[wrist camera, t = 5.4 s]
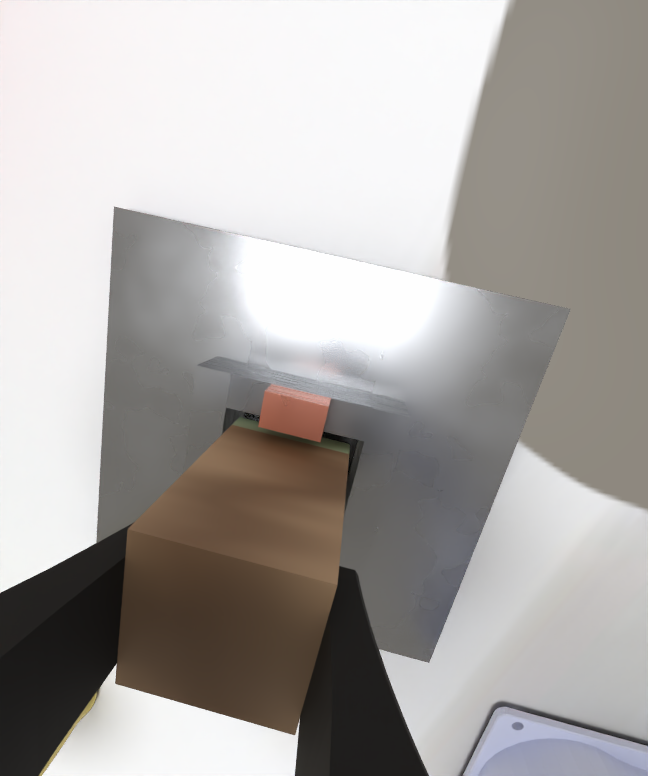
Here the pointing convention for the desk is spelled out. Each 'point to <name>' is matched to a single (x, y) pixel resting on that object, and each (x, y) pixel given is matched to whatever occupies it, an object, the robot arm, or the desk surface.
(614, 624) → the desk surface
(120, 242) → the stand
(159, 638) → the post
